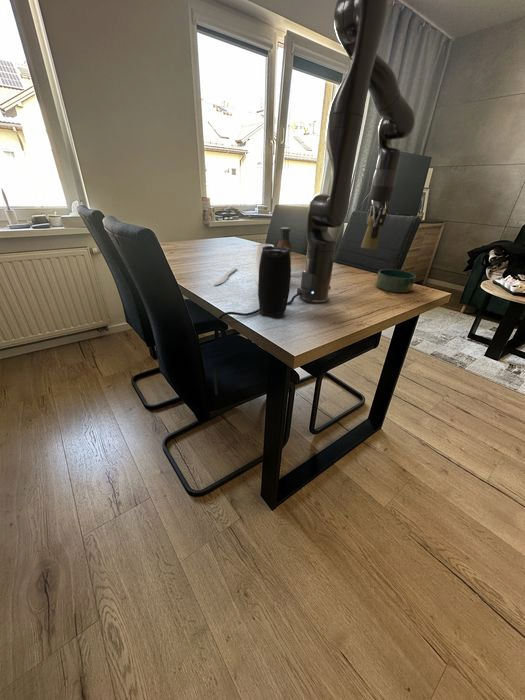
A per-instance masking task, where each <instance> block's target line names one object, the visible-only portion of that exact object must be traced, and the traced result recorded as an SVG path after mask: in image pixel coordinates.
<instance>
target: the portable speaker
mask: <svg viewBox="0 0 525 700" xmlns="http://www.w3.org/2000/svg"><path fill="white" fill-rule="evenodd" d="M262 250H263V251H262V254H261V260H260V265H259V281H258V283H257V285H258V286H257V287H258V288H257V297H258V298H257V299H258V304H259V305H258V306H259V308H260V311H259V314H260V315H261V316H264V317H265V316H266V315H268V316H273V318H275V319H278V318H282V317H283V316H285V313H286V310H287V307H288V305H287V303H288V302H289V297H290V289H291V276H292V261H291V262H290V249H289V248H287V247H282V248H277V247H275V246H274V247H272V246H265V247H263V249H262Z"/></svg>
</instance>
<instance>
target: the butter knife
mask: <svg viewBox="0 0 525 700" xmlns="http://www.w3.org/2000/svg"><path fill="white" fill-rule="evenodd" d="M236 271H237V267H232V268H231V269H230V270H229V271H228V272H227V273H226V274H225V275H223V277H221V278H220V279H219V280H218V281H217V282H215V283H214V286H218V285H221V284H223V283H226V281H227V280H228V277H229V276H230V275H231V274H232V273H234V272H236Z"/></svg>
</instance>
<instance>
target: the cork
mask: <svg viewBox="0 0 525 700" xmlns="http://www.w3.org/2000/svg"><path fill="white" fill-rule="evenodd" d="M376 218H377V217H376ZM366 221H367V220H366ZM381 222H382V221H381ZM373 223H374V220H373V216H371V217H369V218H368V221H367V222H366V224H367V229H366V230H365V234H364V235H363V239H362V243H361V246H360V248H363V249H367V250H378V243H379V234H380V231H379V232H378V236H377V238H371V233H372V229H373Z"/></svg>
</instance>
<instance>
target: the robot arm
mask: <svg viewBox="0 0 525 700" xmlns="http://www.w3.org/2000/svg"><path fill="white" fill-rule="evenodd" d="M388 6H389V0H337V1H336V4H335V7H334V13H333V25H334V30H335V34H336V37H337V39H338V41H339V43H340V44H341V46H342V48H343V50H344V52H345V53H346V55H347V56H348V58H349V59H350V63H349V66H348V68H347V70H346V72H345V75H344V77H343V78H342V81H341V82H340V85H339V86H338V88H337V90H336V92H335V94H334V96H333V99H332V101H331V103H330V106H329V109H328V115H327V120H326V121H327V122H326V128H325V129H326V130H325V137H324V138H325V147H326V151H327V156H328V159H329V161H330V166H331V172H332V176H331V187H330V192H329V193H327V192H320V193H317V194H315V195H313V197H312V198H311V200H310V202H309V206H308V211H307V219H306V223H307V224H306V241H307V248H306V257H305V265H304V270H302V271H301V279H300V287H297V288H296V294H294V295H293V296H292V297H291V298H290V300H289V301H287V306H288V305H289V306H290V304H293V302H294V301H295V298H297V297H299V298H300V299H302V300H304V301H306V302H307V303H314V304H315V303H316V304H317V303H318V304H319V303H325V302H328V299H329V293H330V292H329V291H330V290H331V280H332V275H333V268H334V261H335V256H336V249H337V240H336V239H335V238H334V237H333V236H332V235H331V234H330V233H329V228H332V229H338V228H340V227H341V226H342V225H343V224H344V222H345V220H346V218H347V216H348V212H349V206H350V199H351V191H352V181H353V180H352V179H353V172H354V166H355V160H356V154H357V148H358V144H359V140H360V135H361V131H362V125H363V120H364V114H365V108H366V102H367V97H368V93H369V95H370V98H371V100H372V103H373V106H374V108H375V111H376V113H377V115H378V116H379V117H381V120H380V121H379V125H378V127H377V140H378V143H377V144H378V145H377V146H378V147H377V148H378V149H377V150H378V154H377V155H378V156H377V161H376V165H375V171H374V173H373V176H372V181H371V186H370V191H369V196H368V200H369V201H372V203H371V205H368V207H367V215H366V221H365V222H366V223H367V221H368V218H369V217H371V216H373V220H374V223H373V229H372V233H371V238H377V236H378V232H379V233H380V228H381V227H383V226H384V223H385V221H386V218H387V214H388V212H389V208H387V207H386V202H390V201H391V200H392V197H393V193H394V189H395V184H396V180H397V175H398V169H399V164H400V162H401V161H400V160H401V157H402V150H401V149H400V148H397V147H393V145H392V140H402V139H406V138H407V137H409V136H410V135H411V134H412V132H413V130H414V127H415V124H416V117H415V112H414V110H413V108H412V107H411V105H410V104H409V103H408V101H407V99H405V97H404V96H403V95H402V93H401V89H400V86H399V82H398V78H397V76H396V74H395V72H394V70H393V69H392V67H391V66H390V64H388V62H386V61H385V59H383V58H382V57H381V56H380V55H379V54H378V50H379V46H380V42H381V40H382V36H383V31H384V27H385V23H386V19H387V14H388V8H389V7H388ZM376 217H377V218H376ZM381 221H382V222H381ZM378 237H379V236H378ZM257 313H260V307H259V308H258V309H256V310H253V311H250V312H246V313H244V312H236V311H225V312H223V313H221V314H220V315H219V316H218V317H217V320H220V319H222V318H223V317H225V316H229V315H235V316H239V317H248V316H252V315H255V314H257ZM212 372H213V373H212V376H213V384H214V385H213V386H214V396H215V395H217V394H218V384H217V383H218V382H217V371H216V370H214V371H212Z"/></svg>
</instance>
